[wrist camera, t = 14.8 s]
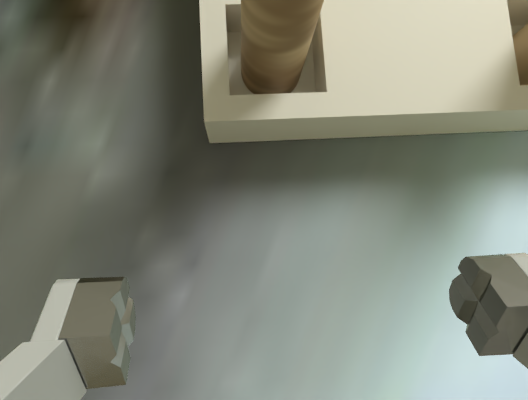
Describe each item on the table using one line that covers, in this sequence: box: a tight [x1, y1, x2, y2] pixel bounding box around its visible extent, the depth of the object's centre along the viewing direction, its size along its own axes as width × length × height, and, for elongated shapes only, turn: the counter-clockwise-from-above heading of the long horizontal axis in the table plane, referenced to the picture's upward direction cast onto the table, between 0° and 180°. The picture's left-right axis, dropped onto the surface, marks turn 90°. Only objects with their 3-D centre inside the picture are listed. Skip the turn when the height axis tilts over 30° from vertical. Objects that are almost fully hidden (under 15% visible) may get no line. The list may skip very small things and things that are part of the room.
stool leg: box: [241, 0, 324, 94], centre depth 20 cm, size 4×4×11 cm
